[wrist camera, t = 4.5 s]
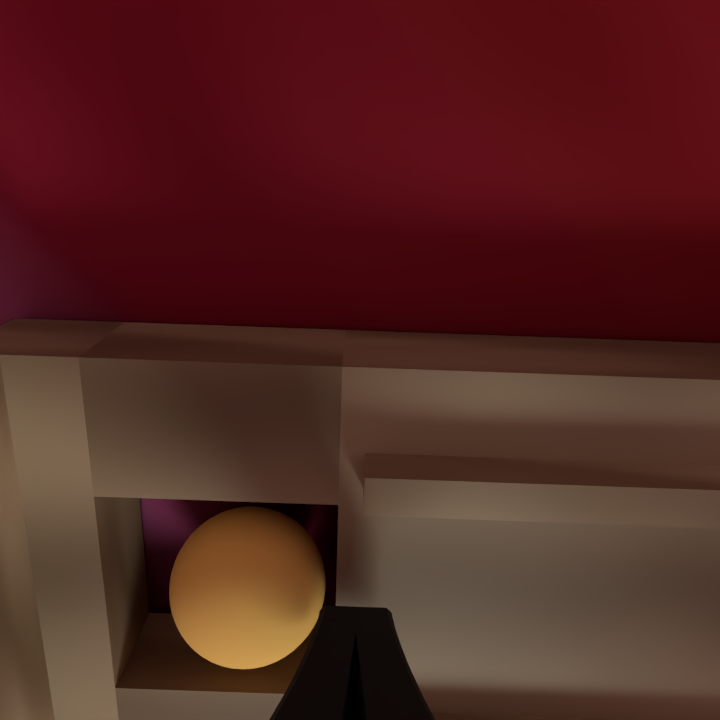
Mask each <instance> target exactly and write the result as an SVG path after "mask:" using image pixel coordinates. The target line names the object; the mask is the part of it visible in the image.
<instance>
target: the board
mask: <svg viewBox="0 0 720 720" xmlns="http://www.w3.org/2000/svg"><path fill="white" fill-rule="evenodd" d="M140 498H151V499H180V500H208V501H237V502H266V503H294V504H323V505H338V537H337V575H336V606H352V607H381V608H387V609H388V610H389V611H390V612H391V613H392V617H393V621H394V625H395V629H396V632H397V635H398V638H399V641H400V644H401V646H402V649H403V652H404V654H405V657H406V659H407V662H408V664H409V667H410V669H411V671H412V674H413V676H414V678H415V680H416V682H417V684H418V686H419V689H420V691H421V693H422V695H423V697H424V699H425V701H426V703H427V705H428V707H429V709H430V711H431V713H432V715H433V716H434V718H435V720H720V343H700V342H672V341H643V340H615V339H587V338H559V337H531V336H502V335H474V334H446V333H418V332H390V331H361V330H333V329H305V328H277V327H248V326H220V325H192V324H164V323H136V322H107V321H79V320H51V319H23V318H13V319H11V320H9V321H7V322H5V323H3V324H2V325H0V720H269V719H270V718H271V716H272V714H273V713H274V711H275V709H276V707H277V706H278V704H279V702H280V701H281V699H282V697H283V695H284V694H285V692H286V690H287V688H288V686H289V685H290V683H291V681H292V679H293V677H294V675H295V673H296V671H297V669H298V667H299V664H300V662H301V660H302V658H303V656H304V654H305V652H306V649H307V647H308V645H309V642H310V640H311V637H312V635H313V632H314V629H315V626H316V624H315V626H314V627H313V629H312V630H311V632H310V634H309V635H308V636H307V637H306V639H305V640H304V641H303V642H302V643H301V644H300V645H299V646H298V647H297V648H296V649H295V650H294V651H293V652H291V653H290V654H288V655H287V656H286V657H284V658H282V659H281V660H279V661H277V662H275V663H272V664H269V665H267V666H264V667H259V668H254V669H233V668H228V667H223V666H220V665H217V664H215V663H212V662H210V661H208V660H207V659H205V658H203V657H202V656H200V655H199V654H198V653H197V652H195V651H194V650H193V649H192V648H191V647H190V646H189V645H188V644H187V642H186V641H185V640H184V638H183V637H182V635H181V634H180V632H179V630H178V628H177V626H176V624H175V621H174V618H173V616H172V614H168V613H150V612H149V601H148V589H147V577H146V566H145V554H144V542H143V531H142V519H141V507H140ZM317 620H318V619H317ZM316 623H317V622H316Z"/></svg>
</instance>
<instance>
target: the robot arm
mask: <svg viewBox="0 0 720 720" xmlns="http://www.w3.org/2000/svg"><path fill="white" fill-rule="evenodd" d="M269 720H435V718H434V716H433V715H432V713H431V711H430V709H429V707H428V705H427V703H426V701H425V699H424V697H423V695H422V693H421V691H420V689H419V686H418V684H417V682H416V680H415V678H414V676H413V674H412V671H411V669H410V667H409V664H408V662H407V659H406V657H405V654H404V652H403V649H402V646H401V644H400V641H399V638H398V635H397V632H396V629H395V625H394V621H393V617H392V613H391V612H390V611H389V610H388V609H387V608H381V607H352V606H325V607H323V608H322V609H321V610H320V612H319V616H318V620H317V623H316V626H315V629H314V632H313V635H312V637H311V640H310V642H309V645H308V647H307V649H306V652H305V654H304V656H303V658H302V660H301V662H300V664H299V667H298V669H297V671H296V673H295V675H294V677H293V679H292V681H291V683H290V685H289V686H288V688H287V690H286V692H285V694H284V695H283V697H282V699H281V701H280V702H279V704H278V706H277V707H276V709H275V711H274V713H273V714H272V716H271V718H270V719H269Z"/></svg>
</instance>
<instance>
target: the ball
mask: <svg viewBox="0 0 720 720" xmlns="http://www.w3.org/2000/svg"><path fill="white" fill-rule="evenodd" d="M324 596H325V570H324V564H323V561H322V557H321V555H320V552H319V550H318V548H317V546H316V544H315V542H314V541H313V539H312V538H311V536H310V535H309V533H308V532H307V531H306V530H305V529H304V528H303V527H302V526H301V525H300V524H299V523H297V522H296V521H295V520H294V519H292V518H291V517H289V516H287V515H286V514H283V513H281V512H279V511H276V510H273V509H269V508H265V507H258V506H245V507H238V508H234V509H230V510H227V511H224V512H222V513H219V514H217V515H215V516H214V517H212V518H210V519H208V520H207V521H206V522H204V523H203V524H202V525H200V526H199V527H198V528H197V529H196V530H195V531H194V532H193V533H192V534H191V535H190V537H189V538H188V539H187V540H186V541H185V543H184V545H183V546H182V548H181V549H180V551H179V553H178V556H177V558H176V560H175V563H174V566H173V569H172V573H171V578H170V586H169V598H170V607H171V612H172V616H173V618H174V621H175V624H176V626H177V628H178V630H179V632H180V634H181V635H182V637H183V638H184V640H185V641H186V642H187V644H188V645H189V646H190V647H191V648H192V649H193V650H194V651H195V652H197V653H198V654H199V655H200V656H202V657H203V658H205V659H207V660H208V661H210V662H212V663H215V664H217V665H220V666H223V667H228V668H233V669H254V668H259V667H264V666H267V665H269V664H272V663H275V662H277V661H279V660H281V659H282V658H284V657H286V656H287V655H288V654H290V653H291V652H293V651H294V650H295V649H296V648H297V647H298V646H299V645H300V644H301V643H302V642H303V641H304V640H305V639H306V637H307V636H308V635H309V634H310V632H311V630H312V629H313V627H314V626H315V624H316V622H317V619H318V616H319V612H320V610H321V609H322V606H323V602H324Z"/></svg>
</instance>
